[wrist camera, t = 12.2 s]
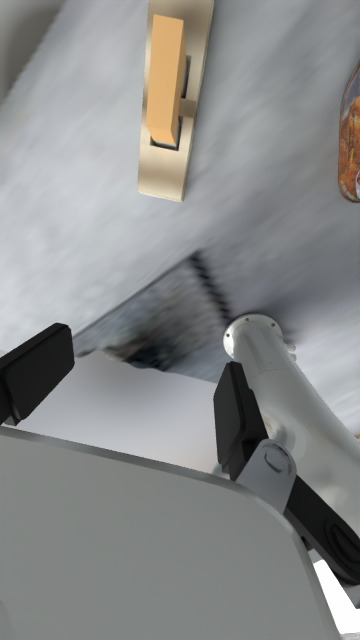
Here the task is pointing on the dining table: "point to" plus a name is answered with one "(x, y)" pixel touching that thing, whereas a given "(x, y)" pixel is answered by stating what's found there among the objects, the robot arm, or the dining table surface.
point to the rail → (168, 165)
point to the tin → (350, 140)
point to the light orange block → (166, 81)
